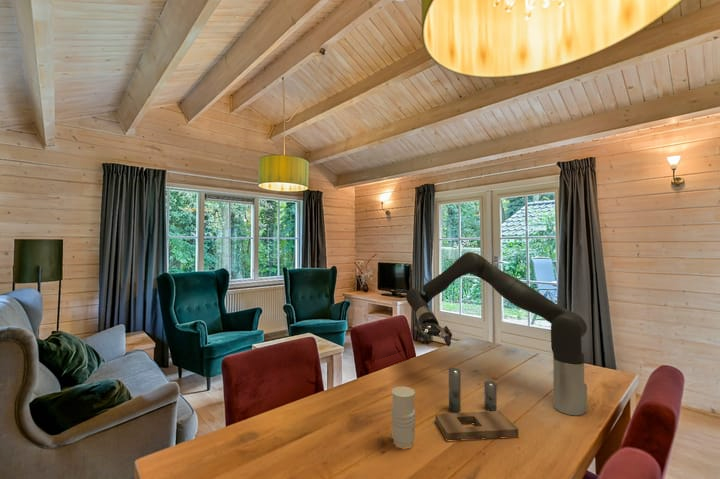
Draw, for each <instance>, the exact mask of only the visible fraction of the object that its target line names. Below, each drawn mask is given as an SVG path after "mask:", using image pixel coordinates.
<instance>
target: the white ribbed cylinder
mask: <svg viewBox="0 0 720 479" xmlns="http://www.w3.org/2000/svg"><path fill="white" fill-rule="evenodd" d="M391 395H392V408H391V411H390V412H391V419H390V420H391V438H392V439H393V441H394V444H395V445H396V446H398V447H402V448H406V447H410V446H412V444H413V445H414V440H415V439H416V434H415V432H416V431H415V427H416V409H415V395H416V392H415V390H414V389H413V388H412V387H408V386H396V387H393V388H392V390H391ZM394 444H393V445H394ZM412 447H413V446H412Z"/></svg>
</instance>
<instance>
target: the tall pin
mask: <svg viewBox="0 0 720 479" xmlns="http://www.w3.org/2000/svg"><path fill="white" fill-rule="evenodd" d="M461 372H462V371H461V369H460V368H457V367H450V368H448V411H449V412H450V411H451V412H450V413H452V412H453V413H459V412H460V413H462V412H461V410H462V409H461V408H462V407H461V406H462V405H461V404H462V403H461V402H462V401H461V400H462V398H461V396H462V395H461V394H462V392H461V390H462V388H461V386H462V383H461V380H462V379H461V376H462V374H461Z"/></svg>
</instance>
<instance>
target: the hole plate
mask: <svg viewBox="0 0 720 479" xmlns="http://www.w3.org/2000/svg"><path fill="white" fill-rule="evenodd" d="M434 419H435V421H436V422H435V421H434V422H435V423H437V424H436V425H437V427H438V426H439V427H438V429H439V428H440V429H441V430H440V429H439V430H440V432H441V431H442V432H441V434H442V433H443V434H444V435H443V434H442V435H443V437H444V436H445V437H444V439H445V438H446V439H447V440H461V439H482V438H501V437H518V438H519V428H518V427H517V426H516V425H515V424H514V423H513V422H512V421H511V420H510V419H509V418H508V417H507V416H506V415H505V414H504V413H503V412H502V411H501V410H496V411H487V410H485V411H472V412H471V411H469V412H468V411H467V412H460V413H452V412H448V413H446V412H445V413H435V418H434ZM472 423H474V424H472ZM464 425H474V426H464ZM475 425H476V426H477V427H476V426H475ZM446 439H445V440H446ZM501 439H502V438H501ZM447 440H446V441H447Z"/></svg>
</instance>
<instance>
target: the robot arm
mask: <svg viewBox="0 0 720 479" xmlns="http://www.w3.org/2000/svg"><path fill="white" fill-rule="evenodd" d="M467 274H468V275H473V276H475V277H477V278H479V279H480V280H483V281H484V282H486V283H487V284H489V285H490V286H491V287H492V288H493V289H494V290H495V291H496V292H497V294H499V295H500V296H501V297H503V299H505V300H506V301H508V302H509V303H510V304H512V305H513V306H515V307H517V308H519V309H522V310H524V311H526V312H529V313H532V314H534V315H537V316H539V317H541V318H543V319H544V320H545V321H547V322H548V323H550V343H551V344H550V345H551V352H552V356H553V358H552V359H553V360H552V361H553V362H552V365H553V368H552V371H553V373H552V374H553V383H552V385H553V389H552V390H553V395H552V397H553V399H552V403H553V404H552V405H553V408H554V409H555V410H557V411H558V412H560V413H563V414H566V415H568V416H569V415H570V416H583V415H584V414H587V413H588V385H587V384H586V383H585V354H584V353H583V350H582V337H583V336H585V335H586V334H587V332H588V330H587V329H588V326H587V324H586V321H585V320H584V319H583V317H582V316H580V315H579V314H577V313H576V312H574V311H571V310H569V309H568V308H565V307H563V306H561V305H559V304H557V303H555V302H554V301H552V300H550V298H548V297H546V296H545V295H543V294H542V293H541V292H539V291H537V290H535V289H534V288H532V287H531V286H529V285H528V284H526V283H525V282H524V281H521V280H520V279H518V278H516V277H515V276H513V275H511V274H509V273H508V272H506V271H503V270H501V269H499V268H498V267H496V266H495V265H493V264H492V263H491V262H489V261H488V260H487V259H486V258H484V257H483V255H480V254H478V253H475V252H472V251H468V252H467V251H466V252H465V253H463V254H462V255H461V256H460V257H459V258H457V259H456V260H455V261H454V262H453V263H452V264H451V265H450V266H449V267H447V269H445V270H444V271H443V272H441V273H440V274H438V275H437V276H436V277H433V279H431V280H429V281H427V282H426V283H425V284H424V285H423V286H422V291H423V293H422V292H421V291H419V289H417V288H410V289H409V290H407V292H406V295H405V299H406V301H407V303H408V305H409V306H410V308H411V309H412V310H413V312H414V314H415V317H416V319H417V322H418V323H416V324H415V327H414V332H415V335H416V338H421V339H422V340H423V342H424V344H425V345H426V346H429V345H430V341H431V340H430V338H429V336H431V337H433V336H434V337H437V338H439V339H442V340H444V343H445V345H446V347H450V346H451V343H452V341H451V340H452V336H453V334H452V332H451V330H450V329H449V327H448V326H447V325H445V326H444V327H441V326H440V323H439V320H438V319H437V317H436V315H435V313H434V312H433V310H432V309H431V307H430V305H429V303H430V302H432V301H431V300H433V299H434V298H435V297H437V295H438V296H439V294H441V293H443V292H444V291H445V290H447V289H448V288H449V287H450V286H451V285H452V284H453V283H454V282H455V281H456V280H457V279H458V278H461V277H463V276H465V275H467Z"/></svg>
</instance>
